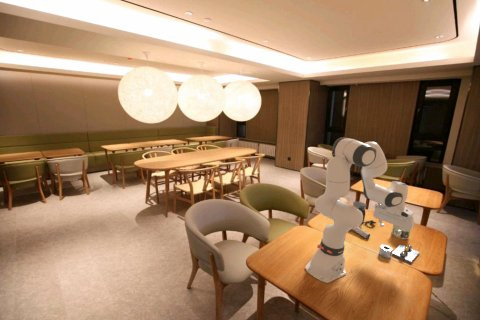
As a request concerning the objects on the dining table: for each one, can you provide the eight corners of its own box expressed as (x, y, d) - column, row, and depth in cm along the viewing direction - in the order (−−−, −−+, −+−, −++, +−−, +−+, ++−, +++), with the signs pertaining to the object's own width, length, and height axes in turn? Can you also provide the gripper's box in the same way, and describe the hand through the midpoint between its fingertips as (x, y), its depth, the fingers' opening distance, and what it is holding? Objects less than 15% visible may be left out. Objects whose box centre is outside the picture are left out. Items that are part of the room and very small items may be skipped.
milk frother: (347, 218, 185) (350, 201, 182) (365, 217, 188) (368, 200, 184) (359, 228, 172) (363, 209, 168) (378, 226, 175) (381, 208, 171)
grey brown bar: (367, 235, 156) (336, 215, 175) (364, 243, 158) (334, 222, 178) (371, 233, 158) (340, 213, 178) (368, 241, 161) (338, 220, 180)
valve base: (410, 264, 134) (412, 256, 133) (391, 255, 142) (393, 247, 140) (418, 254, 143) (420, 247, 142) (400, 246, 151) (401, 239, 149)
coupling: (388, 259, 137) (389, 252, 136) (377, 254, 142) (379, 247, 140) (391, 255, 141) (393, 248, 140) (381, 250, 145) (383, 243, 144)
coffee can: (409, 234, 165) (413, 216, 162) (408, 241, 157) (412, 222, 154) (392, 229, 171) (395, 212, 168) (390, 235, 163) (394, 217, 160)
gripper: (373, 203, 140) (369, 224, 143) (413, 216, 124) (408, 239, 128) (377, 201, 143) (373, 221, 147) (417, 213, 128) (412, 235, 131)
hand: (390, 229), depth 137 cm, fingers open, 8 cm apart
